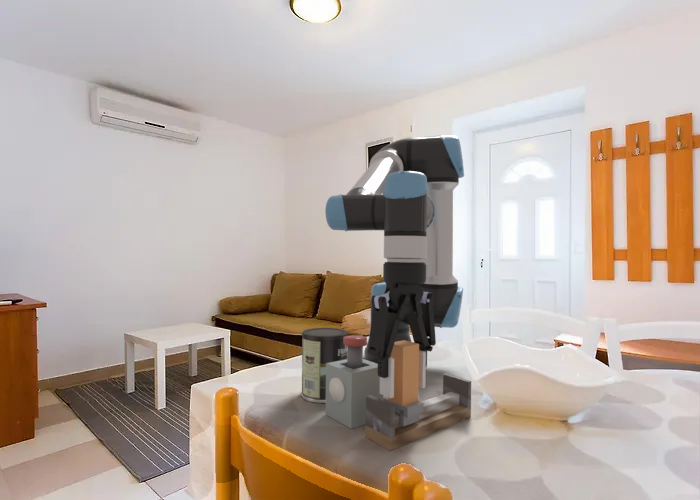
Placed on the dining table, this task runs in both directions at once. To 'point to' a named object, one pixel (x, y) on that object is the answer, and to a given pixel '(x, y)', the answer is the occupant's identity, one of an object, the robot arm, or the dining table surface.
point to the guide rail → (433, 418)
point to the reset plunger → (355, 350)
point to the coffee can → (320, 359)
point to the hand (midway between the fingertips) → (403, 390)
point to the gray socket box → (350, 391)
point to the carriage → (406, 382)
